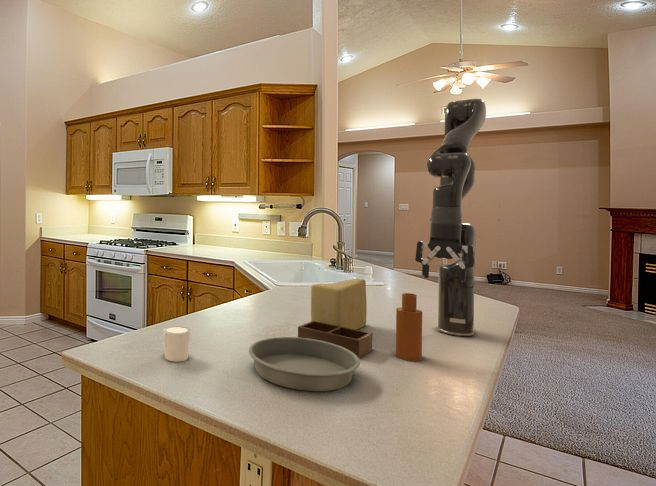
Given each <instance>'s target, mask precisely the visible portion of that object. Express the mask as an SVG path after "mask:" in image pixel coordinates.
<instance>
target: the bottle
mask: <svg viewBox="0 0 656 486" xmlns="http://www.w3.org/2000/svg"><path fill="white" fill-rule="evenodd" d="M417 296H418V295H417V294H415V293H410V292H403V293H401V307H397V308H396V309H395V313H396V314H395V320H396V321H395V356H396V357H397V358H399V359H401V360H404V361H411V362H419V361H421V360H422V358H423V311H422V310H421V309H419V308H417V305H418V304H417Z"/></svg>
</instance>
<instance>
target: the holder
mask: <svg viewBox="0 0 656 486" xmlns="http://www.w3.org/2000/svg"><path fill="white" fill-rule="evenodd" d="M297 337H298V338H308V339H315V340H320V341H325V342H329V343H332V344H336V345H338V346H341V347H344V348H346V349H348V350H350V351H351V352H353V353H354V354H355V355H356V356H357V357H358V358H359V359H361V358H362V357H364V356H366V355H367V354H369V353H370V352H372V351H373V332H369V331H364V330H359V329H357V330H355V329H350V328H346V327H341V326H336V325H331V324H327V323H322V322H317V321H309V322H306V323H303V324H301V325H299V326H297Z"/></svg>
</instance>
